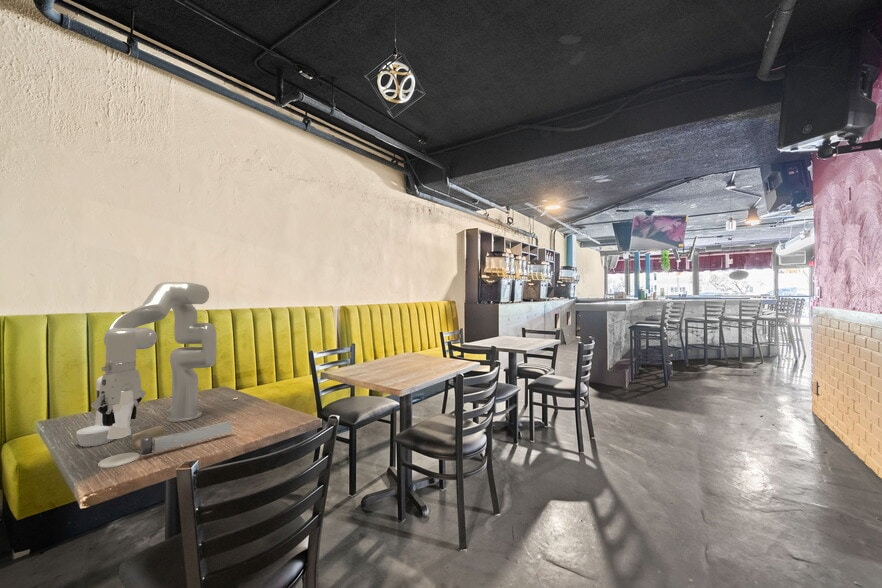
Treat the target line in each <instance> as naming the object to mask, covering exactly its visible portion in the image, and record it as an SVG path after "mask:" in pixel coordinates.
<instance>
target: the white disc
mask: <svg viewBox="0 0 882 588" xmlns="http://www.w3.org/2000/svg"><path fill="white" fill-rule="evenodd" d="M137 458H138V459H139V458H140V454H139V453H137V452H124V453H123V452H122V453H118V454H114V455H112V456H108V457H106V458H103V459H102V460H100V461H99V462H98V463H97V464H98V467H99V468H102V469H110V468H116V467H122V466H126V465H128V464H131V463H133V462H135V461H137V460H138V459H137ZM136 459H137V460H136ZM134 460H135V461H134ZM132 461H133V462H132ZM130 462H131V463H130ZM121 465H122V466H121Z"/></svg>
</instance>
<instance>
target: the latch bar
mask: <svg viewBox="0 0 882 588" xmlns="http://www.w3.org/2000/svg"><path fill="white" fill-rule="evenodd" d="M232 422H233V421H231V420H227V421H224V422H219V423H214V424H211V425H205V426H202V427H198V428H197V427H196V428H194V429H188V430H185V431H181V432H177V433H171V434H167V435H164V436H163V437H158V438H154V439H153V437H151V436H150V437H144V438H142V439H141V449H140V455H141V456H146V455H150V454H152V453H153V452H154V453H157V452H160V451H164V450H168V449H172V448H176V447H179V446H184V445H187V444H191V443H195V442H198V441H203V440H206V439H211V438H215V437H218V436H221V435H225V434H230V433H233V429H232V428H233V425H232V424H233V423H232ZM152 439H153V444H152Z"/></svg>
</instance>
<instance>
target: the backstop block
mask: <svg viewBox="0 0 882 588" xmlns="http://www.w3.org/2000/svg"><path fill="white" fill-rule="evenodd" d="M164 433H165V427H164V426H162V425H156V426H153V427H150V428H148V429H144V430H141V431H140V432H136V433H133V434H131V435H132V440H131V441H132V445H131V446H132V447H131V448H134V449H133V450H141V449H140V448H141V439H142V438H144V437H150V436H151V437H153V439H154V438H158V437H163V436H165V434H164ZM153 439H152V445H153Z"/></svg>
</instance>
